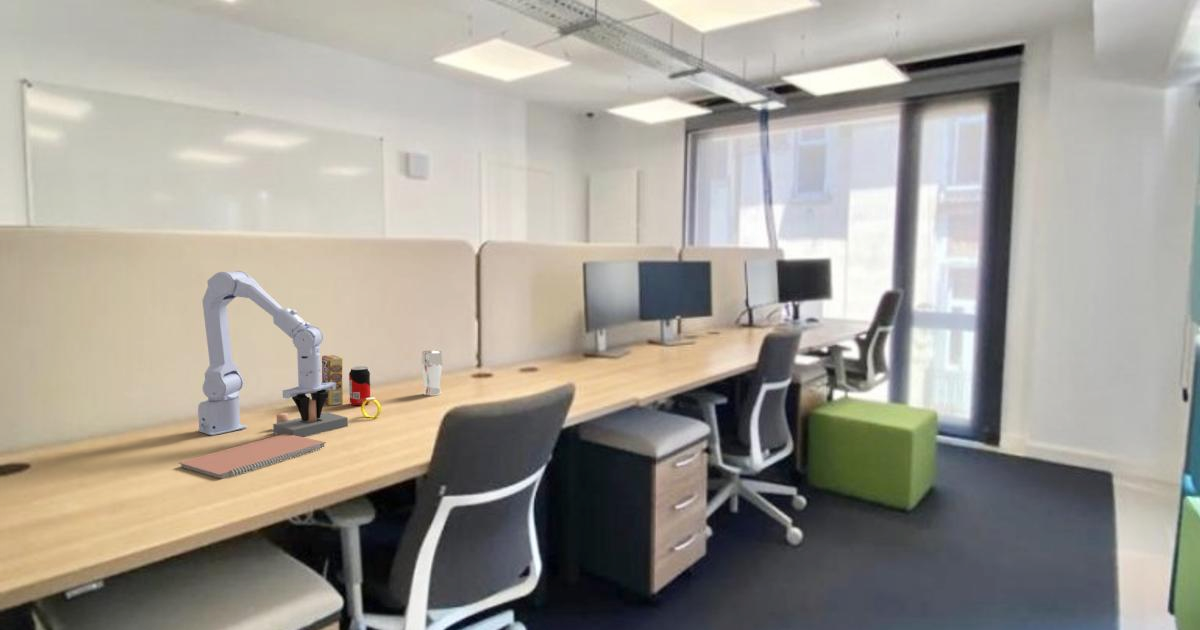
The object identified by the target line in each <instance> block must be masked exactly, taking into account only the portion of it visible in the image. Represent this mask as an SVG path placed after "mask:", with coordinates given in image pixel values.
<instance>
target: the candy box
mask: <svg viewBox="0 0 1200 630" xmlns="http://www.w3.org/2000/svg"><path fill="white" fill-rule="evenodd" d="M328 382H334V383H336V389H335V390H326V392H328V397H327V399H326V400H325V402H324V403H325V404H327V405H329V406H336V405H337V406H338V405H339V404H340V405H343V398H344V397H343V394H344V393H343V358H342V357H339V356H337V355H334V354H327V355H322V356H321V383H328Z"/></svg>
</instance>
